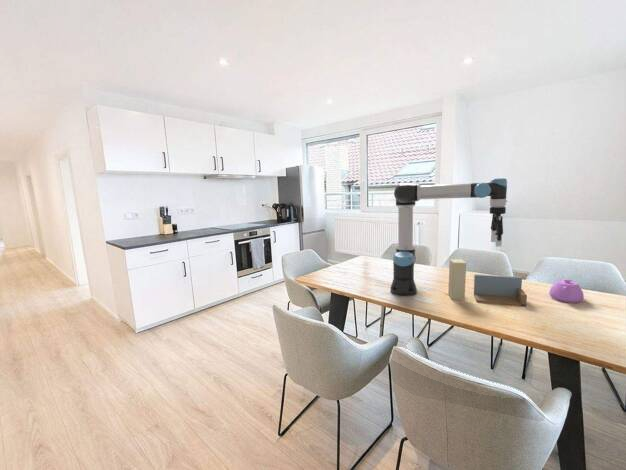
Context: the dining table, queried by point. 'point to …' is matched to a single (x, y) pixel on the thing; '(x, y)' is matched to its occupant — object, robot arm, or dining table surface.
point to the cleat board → (499, 290)
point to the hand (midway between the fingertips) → (495, 244)
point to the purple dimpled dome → (566, 291)
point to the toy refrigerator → (457, 279)
